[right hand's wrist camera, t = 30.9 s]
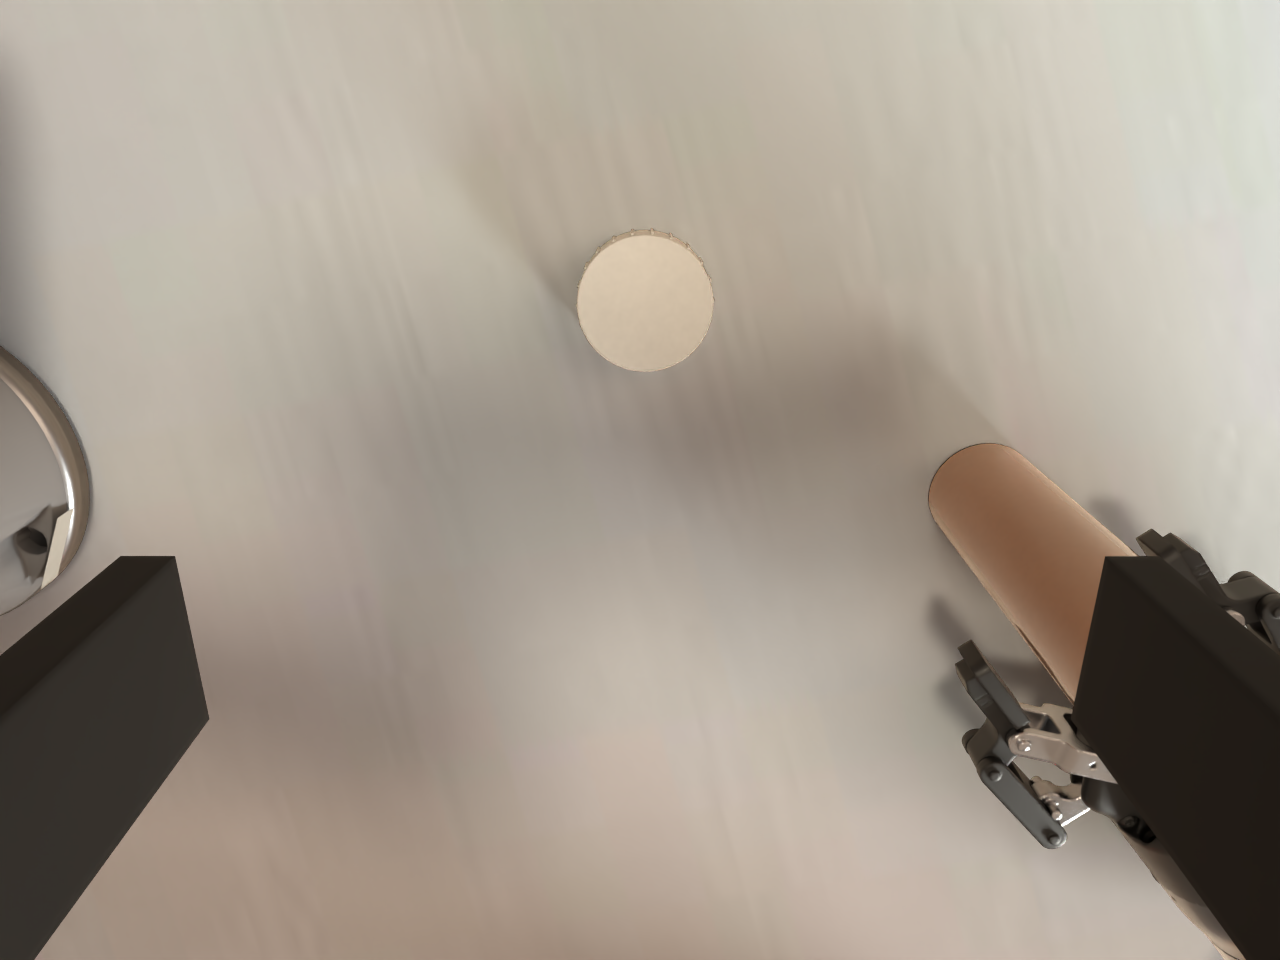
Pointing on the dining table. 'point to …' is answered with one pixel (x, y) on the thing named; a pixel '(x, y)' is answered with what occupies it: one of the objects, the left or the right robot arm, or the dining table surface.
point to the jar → (1026, 550)
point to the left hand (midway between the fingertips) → (1059, 598)
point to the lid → (645, 300)
